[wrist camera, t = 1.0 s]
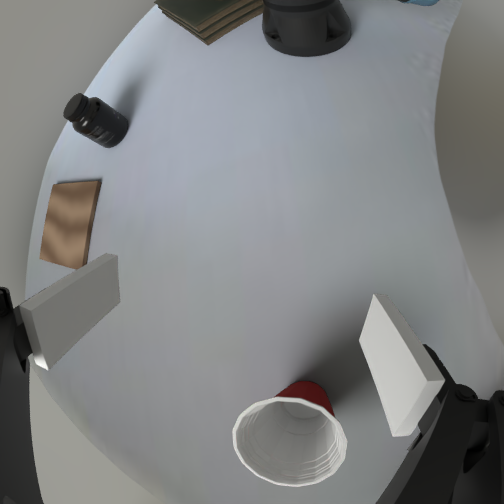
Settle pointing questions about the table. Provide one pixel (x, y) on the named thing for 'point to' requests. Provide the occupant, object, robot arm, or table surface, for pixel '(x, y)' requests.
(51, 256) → the walnut board
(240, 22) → the stacked books
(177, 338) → the table surface
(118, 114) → the supplement bottle
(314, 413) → the plastic cup
